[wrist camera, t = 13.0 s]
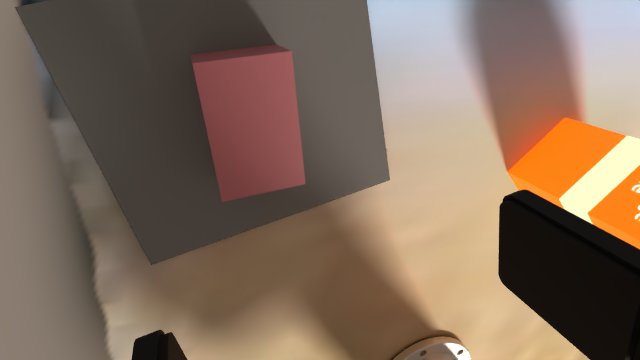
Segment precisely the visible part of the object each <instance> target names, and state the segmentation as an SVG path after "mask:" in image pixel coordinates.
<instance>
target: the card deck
mask: <svg viewBox="0 0 640 360" xmlns="http://www.w3.org/2000/svg"><path fill="white" fill-rule="evenodd" d="M191 60H192V65H193V69H194V74H195V78H196V83H197V88H198V92H199V97H200V102H201V106H202V111H203V116H204V120H205V125H206V129H207V134H208V139H209V143H210V148H211V153H212V157H213V162H214V167H215V171H216V176H217V180H218V185H219V190H220V194H221V199H222V202H224V201H229V200H234V199H238V198H243V197H248V196H252V195H257V194H261V193H266V192H271V191H275V190H280V189H284V188H289V187H294V186H298V185H303V184H306V183H305V174H304V164H303V154H302V145H301V135H300V126H299V116H298V106H297V97H296V87H295V78H294V68H293V58H292V51H290V50H288V49H286V48H284V47H281V46H279V45H277V44H275V45H267V46H259V47H250V48H242V49H233V50H225V51H217V52H208V53H200V54H192V55H191Z"/></svg>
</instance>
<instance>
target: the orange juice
mask: <svg viewBox="0 0 640 360" xmlns="http://www.w3.org/2000/svg"><path fill="white" fill-rule="evenodd" d="M508 174H509V175H510V177H511V179H512V180H513V182H514V183H515V185H516V186H517V188H518V190H519V191H520V190H522V189H526V190H529V191H531V192H533V193H535V194H537V195H539V196H541V197H542V198H544V199H546V200H548V201H550V202H552V203H554V204H556V205H557V206H559V207H561V208H563V209H565V210H567V211H569V212H571V213H573V214H574V215H576V216H578V217H580V218H582V219H584V220H586V221H588V222H590V223H591V224H593V225H595V226H597V227H599V228H601V229H603V230H605V231H607V232H608V233H610V234H612V235H614V236H616V237H618V238H620V239H622V240H623V241H625V242H627V243H629V244H631V245H633V246H635V247H637V248H639V249H640V139H637V138H634V137H631V136H625V135H622V134H618V133H615V132H612V131H608V130H605V129H602V128H598V127H595V126H592V125H588V124H585V123H582V122H578V121H575V120H572V119H568V118H564V119H563V120H562V121H561V122H560V123H558V124H557V125H556V126H555V127H554V128H553V129H552V130H551V131H550V132H549V133H548V134H547V135H546V136H545V137H544V138H543V139H542V140H540V141H539V142H538V143H537V144H536V145H535V146H534V147H533V148H532V149H531V150H530V151H529V152H528V153H527V154H526V155H525V156H524V157H522V158H521V159H520V160H519V161H518V162H517V163H516V164H515V165H514V166H513V167H512V168H511V169H510V170H509V171H508Z"/></svg>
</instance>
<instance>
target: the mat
mask: <svg viewBox="0 0 640 360" xmlns="http://www.w3.org/2000/svg"><path fill="white" fill-rule="evenodd" d="M15 8H16V10H17V12H18V14H19V16H20V18H21V20H22V22H23V24H24V25H25V27H26V29H27V31H28V33H29V35H30V37H31V39H32V41H33V42H34V44H35V46H36V48H37V50H38V52H39V54H40V56H41V58H42V59H43V61H44V63H45V65H46V67H47V69H48V71H49V73H50V75H51V76H52V78H53V80H54V82H55V84H56V86H57V88H58V90H59V92H60V93H61V95H62V97H63V99H64V101H65V103H66V105H67V107H68V109H69V110H70V112H71V114H72V116H73V118H74V120H75V122H76V124H77V126H78V127H79V129H80V131H81V133H82V135H83V137H84V139H85V141H86V143H87V144H88V146H89V148H90V150H91V152H92V154H93V156H94V158H95V160H96V162H97V163H98V165H99V167H100V169H101V171H102V173H103V175H104V177H105V179H106V180H107V182H108V184H109V186H110V188H111V190H112V192H113V194H114V196H115V197H116V199H117V201H118V203H119V205H120V207H121V209H122V211H123V213H124V214H125V216H126V218H127V220H128V222H129V224H130V226H131V228H132V230H133V231H134V233H135V235H136V237H137V239H138V241H139V243H140V245H141V247H142V248H143V250H144V252H145V254H146V256H147V258H148V260H149V262H150V264H151V265H152V264H155V263H158V262H160V261H163V260H166V259H169V258H172V257H174V256H177V255H180V254H183V253H186V252H188V251H191V250H194V249H197V248H200V247H203V246H205V245H208V244H211V243H214V242H217V241H219V240H222V239H225V238H228V237H231V236H234V235H236V234H239V233H242V232H245V231H248V230H250V229H253V228H256V227H259V226H262V225H265V224H267V223H270V222H273V221H276V220H279V219H281V218H284V217H287V216H290V215H293V214H295V213H298V212H301V211H304V210H307V209H310V208H312V207H315V206H318V205H321V204H324V203H326V202H329V201H332V200H335V199H338V198H341V197H343V196H346V195H349V194H352V193H355V192H357V191H360V190H363V189H366V188H369V187H372V186H374V185H377V184H380V183H383V182H386V181H388V180H390V177H389V169H388V161H387V154H386V146H385V138H384V131H383V123H382V115H381V107H380V100H379V92H378V84H377V77H376V69H375V61H374V53H373V46H372V38H371V30H370V23H369V15H368V7H367V0H47V1H42V2H37V3H33V4H28V5H23V6H19V7H15ZM275 44H277V45H279V46H281V47H284V48H286V49H288V50H290V51H292V58H293V68H294V78H295V87H296V97H297V106H298V116H299V126H300V135H301V145H302V154H303V164H304V174H305V183H306V184H303V185H298V186H294V187H289V188H284V189H280V190H275V191H271V192H266V193H261V194H257V195H252V196H248V197H243V198H238V199H234V200H229V201H224V202H222V199H221V194H220V190H219V185H218V180H217V176H216V171H215V167H214V162H213V157H212V153H211V148H210V143H209V139H208V134H207V129H206V125H205V120H204V116H203V111H202V106H201V102H200V97H199V92H198V88H197V83H196V78H195V74H194V69H193V65H192V60H191V55H192V54H200V53H208V52H217V51H225V50H233V49H242V48H250V47H259V46H267V45H275Z"/></svg>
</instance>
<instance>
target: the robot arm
mask: <svg viewBox="0 0 640 360" xmlns="http://www.w3.org/2000/svg"><path fill="white" fill-rule="evenodd" d="M498 273H499V277H500V280H501V282H502V283H503V284H504V285H505V286H506V287H507V288H508V289H509V290H510V291H512V292H513V293H514V294H515V295H516V296H517V297H518V298H520V299H521V300H522V301H523V302H524V303H525V304H527V305H528V306H529V307H530V308H531V309H532V310H533V311H535V312H536V313H537V314H538V315H539V316H540V317H542V318H543V319H544V320H545V321H546V322H547V323H549V324H550V325H551V326H552V327H553V328H554V329H555V330H557V331H558V332H559V333H560V334H561V335H562V336H564V337H565V338H566V339H567V340H568V341H569V342H570V343H572V344H573V345H574V346H575V347H576V348H577V349H579V350H580V351H581V352H582V353H583V354H584V355H586V356H587V357H588V358H589V359H590V360H640V249H639V248H637V247H635V246H633V245H631V244H629V243H627V242H625V241H623V240H622V239H620V238H618V237H616V236H614V235H612V234H610V233H608V232H607V231H605V230H603V229H601V228H599V227H597V226H595V225H593V224H591V223H590V222H588V221H586V220H584V219H582V218H580V217H578V216H576V215H574V214H573V213H571V212H569V211H567V210H565V209H563V208H561V207H559V206H557V205H556V204H554V203H552V202H550V201H548V200H546V199H544V198H542V197H541V196H539V195H537V194H535V193H533V192H531V191H529V190H526V189H522V190H520V191H517V192H514V193H512V194H509V195H507V196H505V197H504V199H503V203H501V205H500V214H499V272H498ZM132 360H187V358H186V357H185V355H184V353H183V351H182V349H181V347H180V346H179V344H178V342H177V340H176V338H175V336H174V335H173V333H171V332H170V333H167V334H164V332H163V331H162V330H158V331H155V332H153V333H150V334H147V335H145V336H142V337H140V338H137V339H136V340H135V342H134V347H133V354H132ZM393 360H471V356H470V353H469V351H468V350H467V348H466V347H465V346H464V345H463V344H462V343H461V342H460V341H459V340H457V339H455V338H452V337H444V336H441V337H433V338H429V339H425V340H422V341H420V342H418V343H415V344H414V345H412V346H410V347H408V348H407V349H405V350H404V351H402V352H401V353H400V354H398V355H397V356H396V357H395V358H394V359H393Z"/></svg>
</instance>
